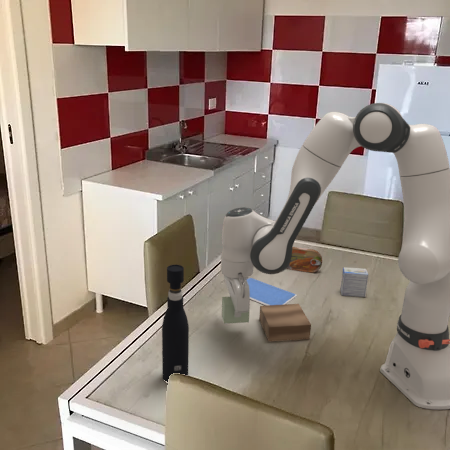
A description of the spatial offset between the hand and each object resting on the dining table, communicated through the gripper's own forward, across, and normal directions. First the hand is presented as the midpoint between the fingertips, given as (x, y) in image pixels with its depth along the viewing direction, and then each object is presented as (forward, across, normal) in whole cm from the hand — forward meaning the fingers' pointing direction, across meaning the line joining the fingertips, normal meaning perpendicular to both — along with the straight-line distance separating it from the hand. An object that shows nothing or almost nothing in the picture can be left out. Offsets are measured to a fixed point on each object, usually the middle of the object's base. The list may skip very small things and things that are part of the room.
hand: (235, 310), depth 145 cm
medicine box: (+8, +20, -44) cm, 49 cm away
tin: (+8, +40, -32) cm, 52 cm away
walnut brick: (+8, +1, -15) cm, 17 cm away
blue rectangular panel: (+8, +23, -14) cm, 28 cm away
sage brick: (+3, 0, 0) cm, 3 cm away
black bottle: (+8, -18, +18) cm, 27 cm away
